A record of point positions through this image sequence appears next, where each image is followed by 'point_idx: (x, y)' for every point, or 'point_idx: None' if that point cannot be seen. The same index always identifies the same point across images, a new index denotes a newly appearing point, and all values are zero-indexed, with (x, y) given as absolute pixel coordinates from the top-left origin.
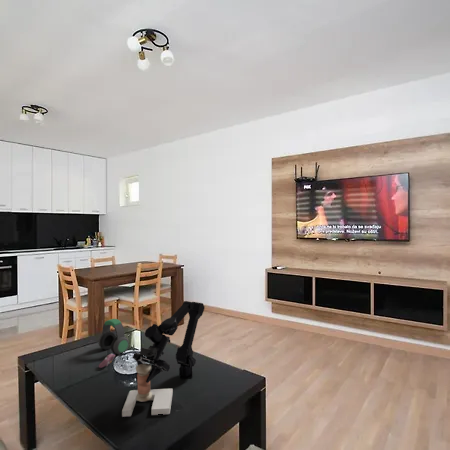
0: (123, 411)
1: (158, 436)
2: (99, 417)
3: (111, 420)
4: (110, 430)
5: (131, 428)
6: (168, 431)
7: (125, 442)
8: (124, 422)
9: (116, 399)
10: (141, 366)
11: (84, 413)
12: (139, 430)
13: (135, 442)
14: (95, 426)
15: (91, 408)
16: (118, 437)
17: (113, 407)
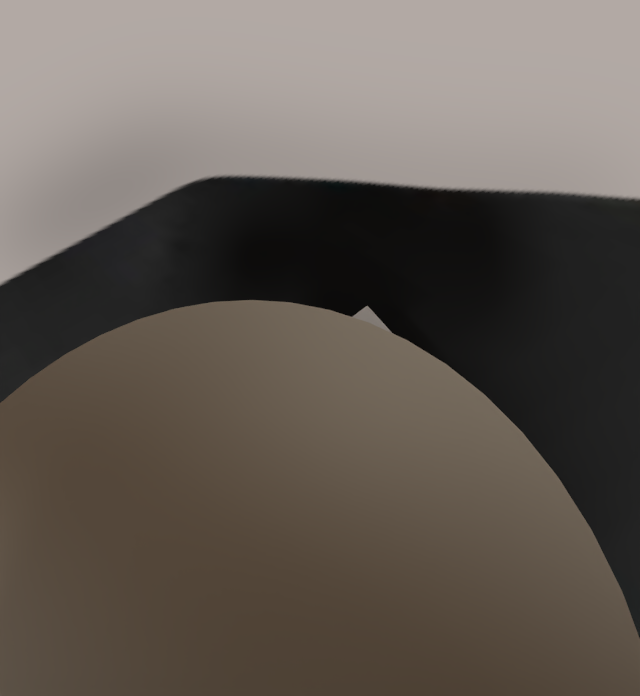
0: (359, 314)
1: (42, 323)
2: (483, 242)
3: (391, 265)
4: (317, 214)
5: (225, 285)
6: (6, 384)
7: (176, 206)
8: (304, 296)
9: (611, 442)
10: (354, 664)
11: (605, 213)
12: (171, 298)
13: (130, 231)
14: (420, 189)
15: (632, 265)
16: (235, 207)
17: (517, 356)
